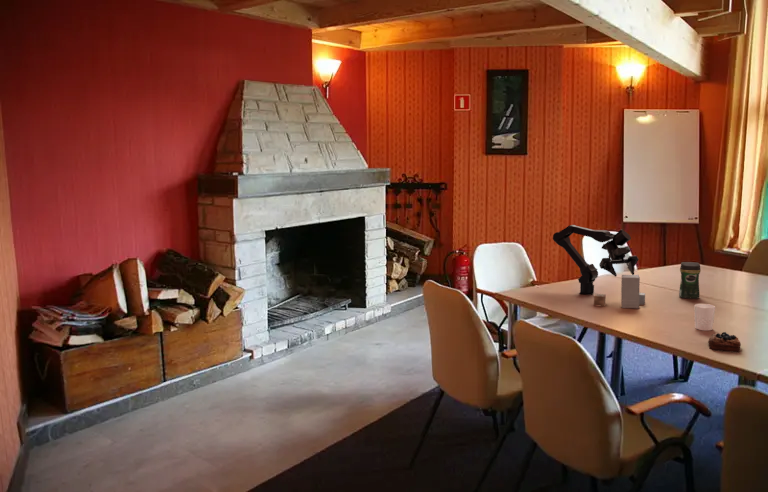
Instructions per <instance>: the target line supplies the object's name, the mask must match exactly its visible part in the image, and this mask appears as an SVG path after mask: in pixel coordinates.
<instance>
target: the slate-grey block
mask: <svg viewBox="0 0 768 492" xmlns="http://www.w3.org/2000/svg"><path fill="white" fill-rule="evenodd" d="M645 303H646V293H645V292H639V306H641V305H645Z"/></svg>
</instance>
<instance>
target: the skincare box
mask: <svg viewBox="0 0 768 492" xmlns="http://www.w3.org/2000/svg"><path fill="white" fill-rule="evenodd" d="M640 280H641V279H640V275H639V274H634V275H632V274H621V280H620V281H621V287H620V288H621V289H620V290H621V291H620V292H621V293H620V295H621V297H620V298H621V299H620V301H621V302H620V304H621V309H640V304H639V293H640Z"/></svg>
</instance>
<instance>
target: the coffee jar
mask: <svg viewBox="0 0 768 492" xmlns="http://www.w3.org/2000/svg"><path fill="white" fill-rule="evenodd" d="M679 271H680V285H679V291H678V296H679V298H682V299H689V300H690V299H691V300H693V299H695V300H696V299H699V298H700V296H701V295H700V294H701V293H700V282H699V281H700V280H699V279H700V278H699V277H700V274H701V271H702V270H701V265H700V263H699V262H693V261H682V262H680V268H679Z"/></svg>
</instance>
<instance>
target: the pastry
mask: <svg viewBox="0 0 768 492" xmlns="http://www.w3.org/2000/svg"><path fill="white" fill-rule="evenodd" d="M707 344H708V346H709V350H712V351H718V352H726V353H727V352H728V353H739V352H740V351H741V345H742V344H741V341H740V340H739V337H738V336H736V335H734V334H732V335H731V334H729V333H727V332H726V331H725V332H721V333H716V334H715V333H713V334H711V336H710V337H709V339H708V341H707Z"/></svg>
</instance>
